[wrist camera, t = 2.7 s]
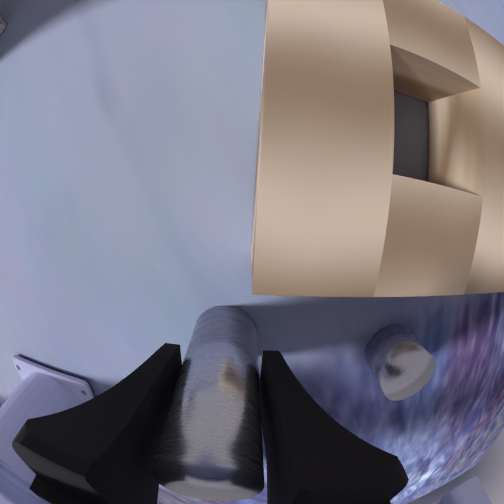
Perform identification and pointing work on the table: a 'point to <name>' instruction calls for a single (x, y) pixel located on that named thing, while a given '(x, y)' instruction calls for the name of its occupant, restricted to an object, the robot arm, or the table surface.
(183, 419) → the long pin
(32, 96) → the table surface
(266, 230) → the socket block
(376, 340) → the short stub
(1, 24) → the coffee box
